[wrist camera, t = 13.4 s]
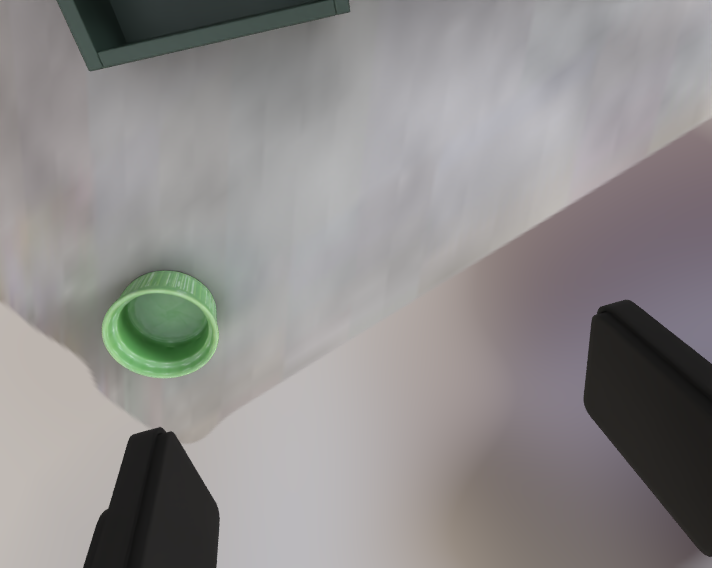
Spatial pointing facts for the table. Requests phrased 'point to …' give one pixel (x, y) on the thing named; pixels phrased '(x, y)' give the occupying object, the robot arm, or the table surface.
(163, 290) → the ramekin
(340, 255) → the table surface
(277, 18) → the open storage box
